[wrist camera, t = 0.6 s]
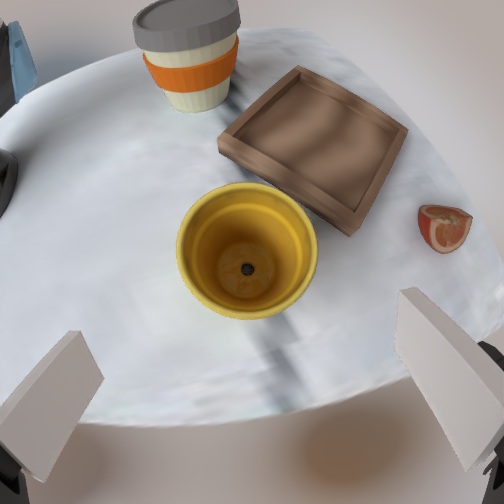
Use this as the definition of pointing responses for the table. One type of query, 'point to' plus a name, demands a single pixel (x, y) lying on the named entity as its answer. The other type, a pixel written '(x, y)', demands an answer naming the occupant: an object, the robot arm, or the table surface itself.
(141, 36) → the reusable coffee cup
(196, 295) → the plant pot
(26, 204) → the table surface
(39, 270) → the table surface
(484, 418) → the robot arm
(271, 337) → the table surface
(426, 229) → the fruit slice
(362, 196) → the walnut tray
